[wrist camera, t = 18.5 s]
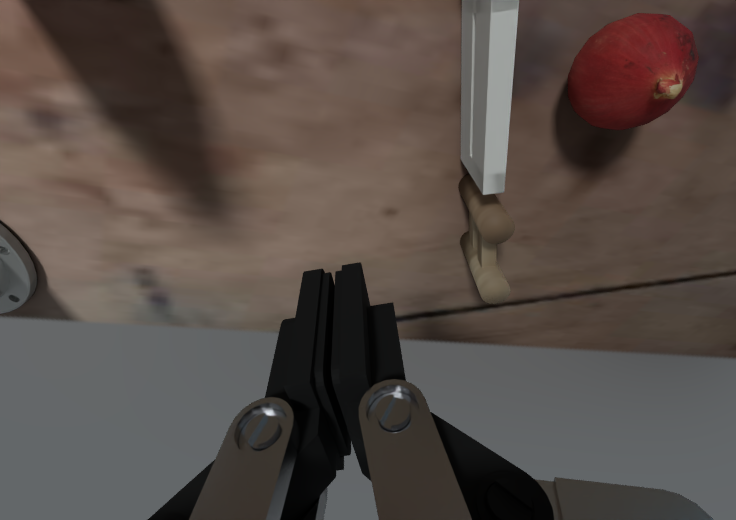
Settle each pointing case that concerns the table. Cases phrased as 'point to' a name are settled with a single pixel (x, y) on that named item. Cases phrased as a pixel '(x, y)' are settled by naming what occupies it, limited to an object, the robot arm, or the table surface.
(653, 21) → the onion
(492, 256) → the fence
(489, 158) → the gate
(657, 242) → the table surface
